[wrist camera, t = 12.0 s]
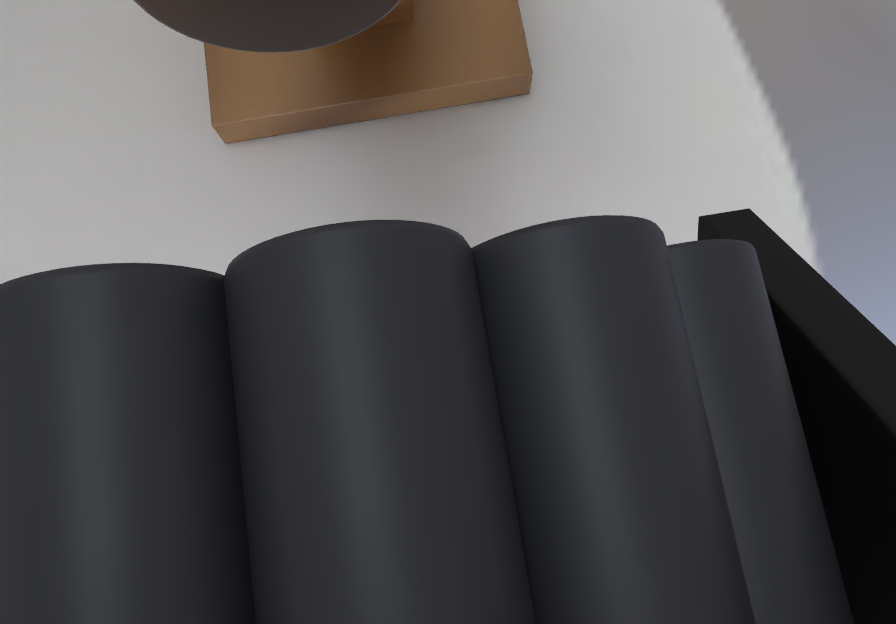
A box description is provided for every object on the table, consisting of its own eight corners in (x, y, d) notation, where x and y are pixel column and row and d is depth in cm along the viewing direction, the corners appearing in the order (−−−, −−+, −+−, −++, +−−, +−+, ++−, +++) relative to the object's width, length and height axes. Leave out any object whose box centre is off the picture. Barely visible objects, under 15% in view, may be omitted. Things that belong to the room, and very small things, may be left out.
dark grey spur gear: (147, 686, 14) (-802, 1309, 4) (132, 442, 15) (-640, 376, 5) (692, 597, 14) (1328, 961, 4) (640, 359, 15) (1017, 107, 5)
